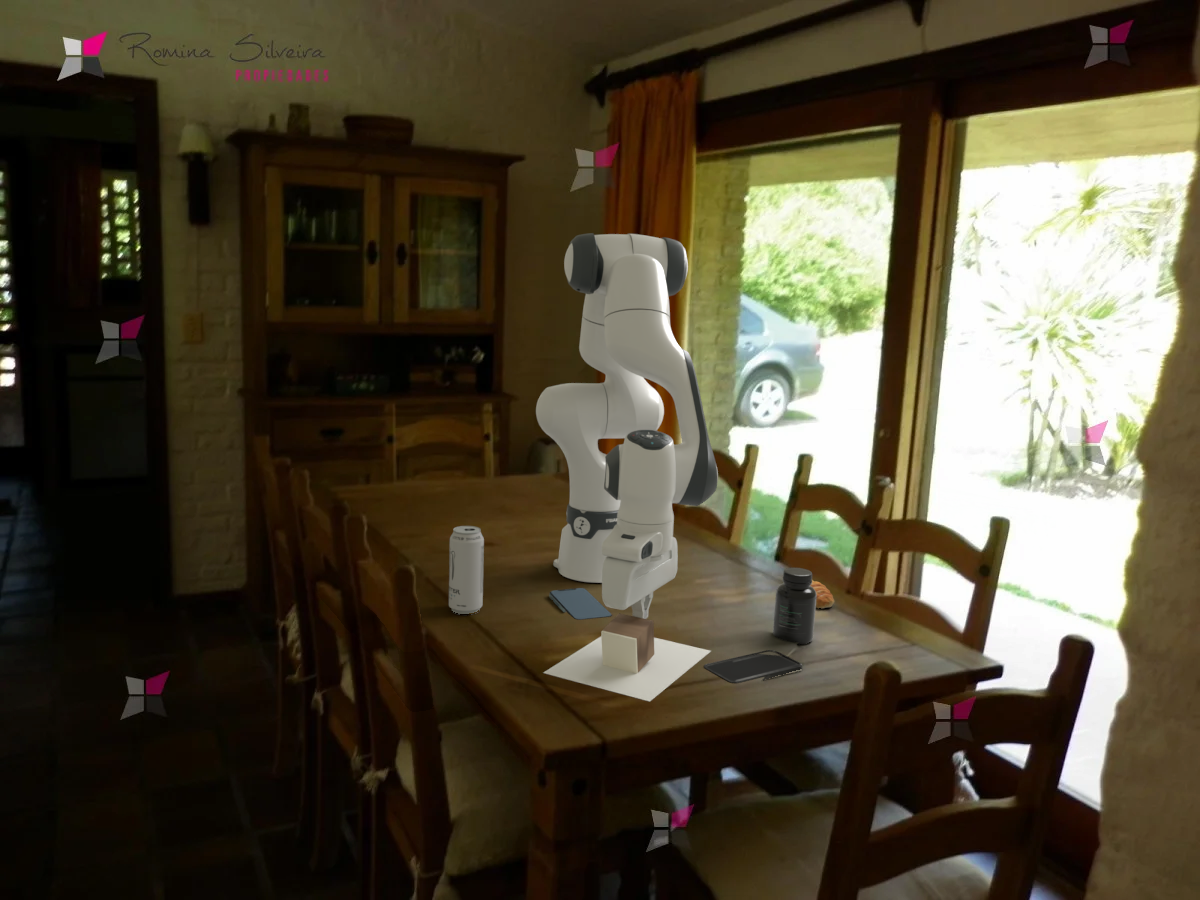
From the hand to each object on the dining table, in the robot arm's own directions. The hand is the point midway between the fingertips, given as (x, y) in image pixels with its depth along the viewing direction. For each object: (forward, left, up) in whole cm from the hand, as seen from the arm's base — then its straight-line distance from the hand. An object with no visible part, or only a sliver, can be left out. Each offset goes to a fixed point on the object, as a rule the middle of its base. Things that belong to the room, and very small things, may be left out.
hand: (640, 619), depth 156 cm
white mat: (+3, 0, -7) cm, 7 cm away
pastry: (-46, +15, -7) cm, 49 cm away
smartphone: (-16, -20, -8) cm, 27 cm away
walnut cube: (+1, 0, -2) cm, 2 cm away
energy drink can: (-3, -36, -7) cm, 37 cm away
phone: (-7, +17, -7) cm, 20 cm away
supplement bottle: (-24, +18, -7) cm, 31 cm away
